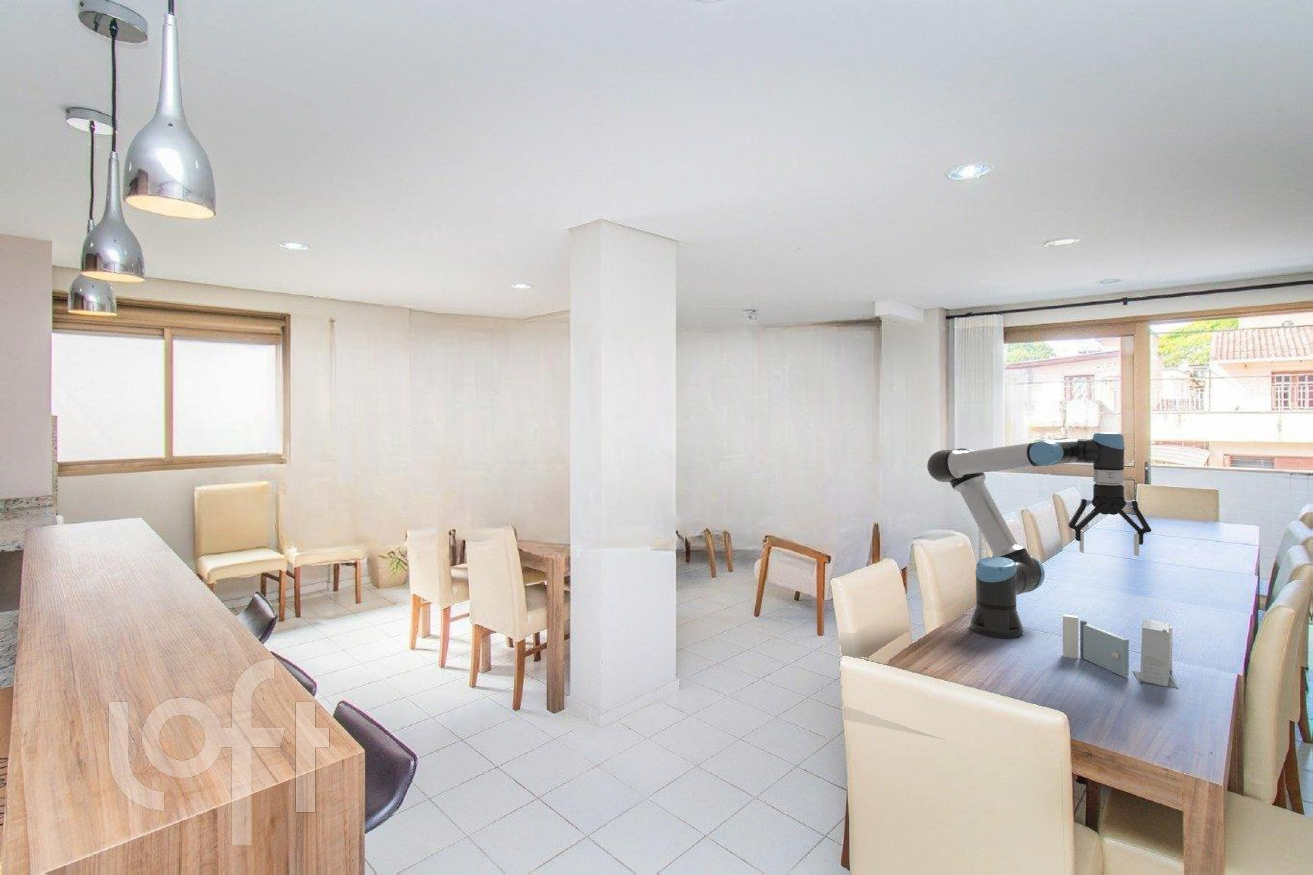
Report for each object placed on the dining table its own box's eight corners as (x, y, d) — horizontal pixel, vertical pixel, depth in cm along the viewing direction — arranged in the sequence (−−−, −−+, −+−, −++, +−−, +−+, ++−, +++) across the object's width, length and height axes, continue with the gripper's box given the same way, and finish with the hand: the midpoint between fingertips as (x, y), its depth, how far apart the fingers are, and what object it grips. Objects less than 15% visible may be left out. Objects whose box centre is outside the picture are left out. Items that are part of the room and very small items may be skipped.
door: (1074, 656, 183) (1074, 620, 182) (1083, 655, 183) (1083, 620, 183) (1118, 677, 168) (1118, 638, 168) (1128, 676, 169) (1128, 637, 168)
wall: (1063, 656, 184) (1063, 616, 183) (1062, 654, 185) (1062, 614, 185) (1172, 670, 172) (1172, 627, 172) (1170, 667, 174) (1170, 625, 173)
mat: (1139, 683, 165) (1139, 682, 165) (1132, 671, 172) (1132, 670, 172) (1177, 688, 161) (1177, 687, 161) (1169, 676, 168) (1169, 675, 168)
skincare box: (1141, 671, 172) (1141, 617, 171) (1170, 676, 168) (1170, 622, 167) (1140, 681, 165) (1140, 626, 165) (1169, 687, 161) (1169, 630, 161)
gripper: (1061, 483, 191) (1061, 552, 191) (1163, 486, 179) (1163, 559, 180) (1058, 481, 197) (1058, 547, 198) (1157, 483, 186) (1157, 553, 187)
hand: (1108, 553), depth 189 cm, fingers open, 13 cm apart
